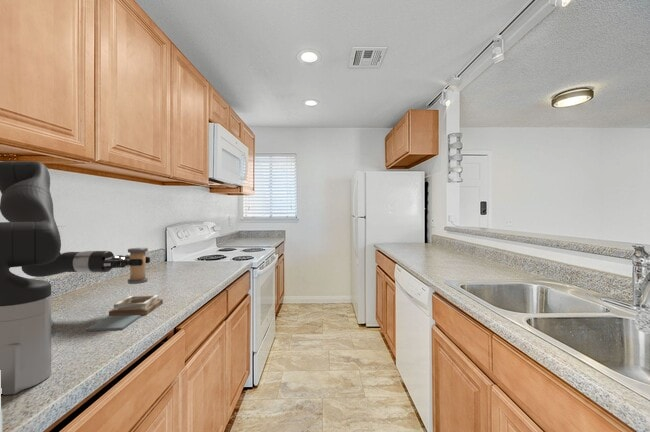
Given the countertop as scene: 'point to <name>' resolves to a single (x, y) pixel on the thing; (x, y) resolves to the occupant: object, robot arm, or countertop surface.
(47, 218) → the robot arm
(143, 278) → the cable spool
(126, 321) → the slate mat
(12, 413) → the countertop surface
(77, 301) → the countertop surface
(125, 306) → the square wooden tray
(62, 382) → the countertop surface
